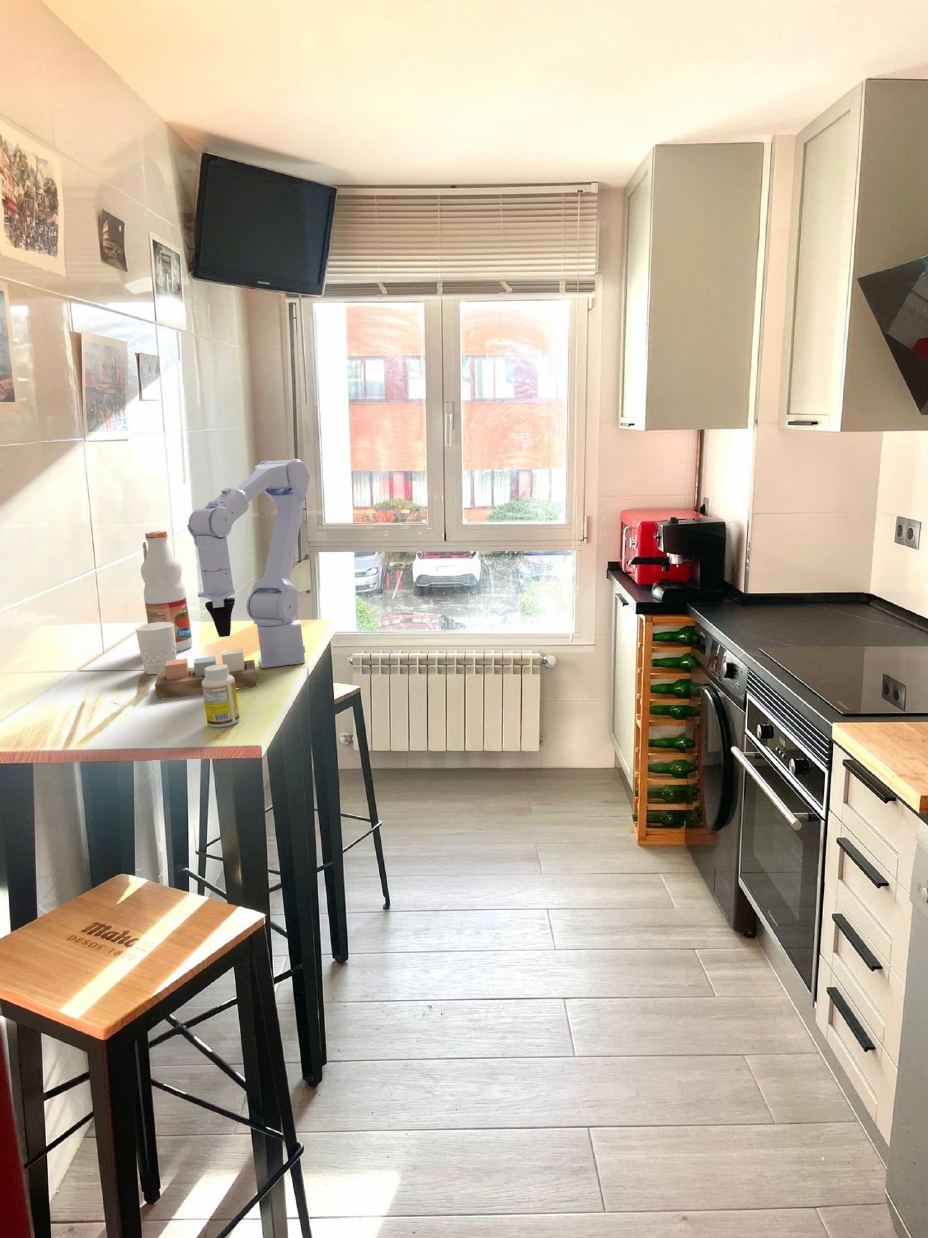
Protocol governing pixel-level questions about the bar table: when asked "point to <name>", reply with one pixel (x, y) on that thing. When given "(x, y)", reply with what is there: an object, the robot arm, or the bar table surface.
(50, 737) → the bar table surface
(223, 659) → the off-white cube
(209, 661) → the light blue cube
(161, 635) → the white cup
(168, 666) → the salmon orange cube
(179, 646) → the fruit juice
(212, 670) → the supplement bottle
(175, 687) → the wooden tray
